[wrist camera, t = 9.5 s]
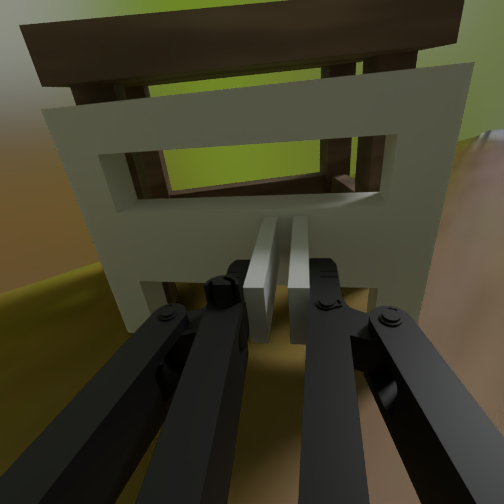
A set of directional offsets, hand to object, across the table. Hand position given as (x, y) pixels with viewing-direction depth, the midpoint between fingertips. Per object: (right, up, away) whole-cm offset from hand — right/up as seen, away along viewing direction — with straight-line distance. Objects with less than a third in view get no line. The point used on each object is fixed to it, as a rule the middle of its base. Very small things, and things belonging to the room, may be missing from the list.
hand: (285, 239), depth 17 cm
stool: (-1, -3, +14) cm, 14 cm away
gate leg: (-1, -7, +6) cm, 9 cm away
